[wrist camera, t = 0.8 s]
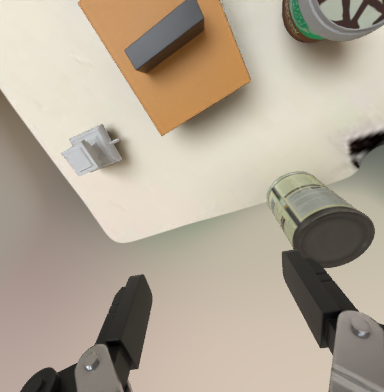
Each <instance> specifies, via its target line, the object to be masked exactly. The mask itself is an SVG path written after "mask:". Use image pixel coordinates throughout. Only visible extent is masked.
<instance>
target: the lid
mask: <svg viewBox="0 0 384 392" xmlns="http://www.w3.org/2000/svg"><path fill="white" fill-rule="evenodd" d="M78 4H79V6H80V7H81V9H82V10H83V12H84V14H85V15H86V17H87V18H88V20H89V22H90V23H91V25H92V26H93V28H94V30H95V31H96V33H97V34H98V36H99V37H100V39H101V41H102V42H103V44H104V45H105V47H106V49H107V50H108V52H109V53H110V55H111V56H112V58H113V60H114V61H115V63H116V64H117V66H118V68H119V69H120V71H121V72H122V74H123V76H124V77H125V79H126V80H127V82H128V83H129V85H130V87H131V88H132V90H133V91H134V93H135V95H136V96H137V98H138V99H139V101H140V103H141V104H142V106H143V107H144V109H145V110H146V112H147V114H148V115H149V117H150V118H151V120H152V122H153V123H154V125H155V126H156V128H157V130H158V131H159V133H160V134H161V136H163V135H165V134H166V133H168V132H169V131H171V130H173V129H174V128H176V127H178V126H179V125H181V124H182V123H184V122H186V121H187V120H189V119H190V118H192V117H194V116H195V115H197V114H199V113H200V112H202V111H203V110H205V109H207V108H208V107H210V106H211V105H213V104H215V103H216V102H218V101H220V100H221V99H223V98H224V97H226V96H228V95H229V94H231V93H232V92H234V91H236V90H237V89H239V88H241V87H242V86H244V85H245V84H247V83H249V82H250V81H251V79H250V77H249V74H248V72H247V69H246V67H245V64H244V62H243V59H242V56H241V54H240V51H239V49H238V46H237V44H236V41H235V39H234V36H233V33H232V31H231V28H230V26H229V23H228V21H227V18H226V16H225V13H224V11H223V8H222V5H221V3H220V0H80V1H79V2H78Z"/></svg>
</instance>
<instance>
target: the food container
mask: <svg viewBox="0 0 384 392" xmlns="http://www.w3.org/2000/svg"><path fill="white" fill-rule="evenodd" d="M282 17H283V21H284V25H285V27H286V29H287V31H288V32H289V34H290V35H291V36H292V37H293V38H295V39H296V40H298V41H301V42H308V43H309V42H316V41H320V40H324V39H328V40H331V41H350V40H354V39H357V38H360V37H363V36H365V35H367V34H370V33H371V32H373V31H375V30H376V29H378V28H380V27H381V26H383V25H384V0H283V2H282Z"/></svg>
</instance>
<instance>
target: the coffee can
mask: <svg viewBox="0 0 384 392" xmlns="http://www.w3.org/2000/svg"><path fill="white" fill-rule="evenodd" d="M267 203H268V206H269V208H270V209H271V211H272V212H273V214H274V216H275V217H276V219H277V221H278V222H279V224H280V226H281V227H282V230H283V231H284V233H285V235H286V236H287V238H288V240H289V241H290V243H291V245H292V247H293V249H294V250H295V249H297V250H298V251H299V252H300V253H301V255H302V256H303V258H309V257H310V258H312V259H313V260H315V261H316V262H318V263H320V264H321V266H322V267H323V268H331V267H337V266H340V265H344V264H346V263H349V262H351V261H353V260H354V259H356V258H358V257H359V256H360V255H361V254H363V253H364V252H365V250H367V248H368V247H369V246H370V244H371V243H372V240H373V238H374V234H375V231H374V230H375V229H374V225H373V223H372V221H371V220H370V218H369V217H368V216H366V215H365V214H363V213H362V212H360V211H358V210H356V209H355V208H354V207H353V206H351V205H350V204H349V203H347V202H346V201H345V200H343V199H342V198H341V197H339V196H338V195H337V194H336V193H334V192H333V191H332V190H330V189H329V188H328V187H326V186H325V185H324V184H322V183H321V182H320V181H318V180H317V179H316V178H315V177H314V176H312V175H311V174H308V173H305V172H292V173H288V174H286V175H284V176H282V177H280V178H279V179H277V180H276V181H275V182H274V183H273V184H272V186H271V187H270V189H269V191H268V194H267Z"/></svg>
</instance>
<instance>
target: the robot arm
mask: <svg viewBox="0 0 384 392" xmlns="http://www.w3.org/2000/svg"><path fill="white" fill-rule="evenodd" d="M282 267H283V276H284V279H285V282H286V284H287V286H288V288H289V290H290V292H291V294H292V295H293V297H294V299H295V301H296V303H297V305H298V307H299V309H300V311H301V313H302V314H303V316H304V318H305V320H306V322H307V324H308V326H309V328H310V330H311V332H312V333H313V335H314V337H315V339H316V341H317V343H318V345H319V347H320V348H326V347H329V349H330V351H331V353H332V355H333V361H332V368H331V376H330V384H329V392H384V325H382V324H379V323H377V322H376V321H375V320H374V319H372V318H371V317H369V316H367V315H365V314H363V313H361V312H359V311H358V310H357V309H356V308H355V307H354V305H353V304H352V303H351V302H350V301H349V299H348V298H347V297H346V296H345V294H344V293H343V292H342V290H341V289H340V288H339V287H338V286H337V284H336V283H335V282H334V281H333V280H332V278H331V277H330V276H329V274H327V272H326V271H325V269H324V268H323V267H322V266H321V264H320V263H318V262H316V261H315V260H313V259H312V258H310V257H309V258H303V256H302V255H301V253H300V252H299V251H298V250H297V249H295V250H289V251H283V252H282ZM151 306H152V293H151V290H150V288H149V285H148V283H147V281H146V278H145V276H144V275H143V274H142V275H136V276H130V277H129V279H128V282H127V284H126V287H122V288H121V289H120V290H119V292H118V293H117V294H116V295H115V297H114V300H113V302H112V306H111V307H110V309H109V314H107V317H106V319H105V321H104V324H103V326H102V329H101V331H100V333H99V336H98V339H97V341H96V343H95V345H94V346H92V347H91V348H89V349H88V350H87V351H86V352H85V353H84V354H83V355H82V356H81V358H80V359H79V361H78V363H76V364H74V365H72V366H70V367H68V368H66V369H64V370H62V371H60V372H58V373H57V372H56V371H55V370H54V369H53V368H50V367H49V368H44V369H42V370H40V371H39V372H37V373H36V374H35V375H33V376H32V377H31V378H30V379H29V380H28V382H27V383H26V384H25V385H24V387H23V388H22V390H21V391H20V392H133V391H132V388H131V385H130V383H129V380H128V376H129V371H130V370H133V369H138V367H139V363H140V358H141V353H142V348H143V344H144V339H145V334H146V329H147V324H148V320H149V316H150V310H151Z"/></svg>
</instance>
